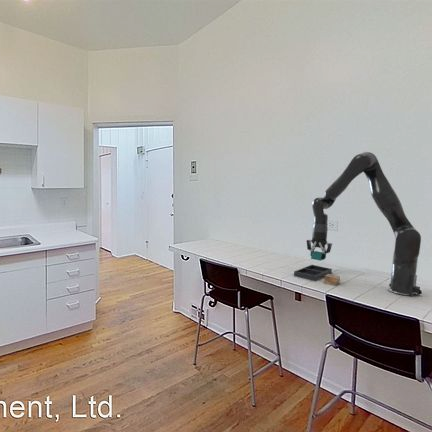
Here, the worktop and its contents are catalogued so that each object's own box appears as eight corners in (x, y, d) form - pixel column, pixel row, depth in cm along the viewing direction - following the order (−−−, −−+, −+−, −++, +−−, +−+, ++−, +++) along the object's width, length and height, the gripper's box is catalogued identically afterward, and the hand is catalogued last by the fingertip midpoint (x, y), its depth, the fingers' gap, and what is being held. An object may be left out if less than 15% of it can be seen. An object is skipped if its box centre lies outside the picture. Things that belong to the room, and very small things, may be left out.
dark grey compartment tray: (331, 273, 182) (331, 268, 181) (314, 280, 168) (314, 276, 168) (311, 268, 191) (311, 264, 191) (293, 275, 178) (294, 271, 177)
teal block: (324, 259, 181) (325, 252, 181) (320, 260, 178) (321, 254, 177) (315, 257, 186) (315, 250, 185) (310, 258, 182) (311, 252, 182)
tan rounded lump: (339, 283, 165) (340, 276, 164) (335, 285, 161) (335, 278, 161) (328, 280, 169) (329, 273, 168) (324, 282, 166) (324, 275, 165)
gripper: (304, 229, 183) (302, 256, 185) (330, 233, 172) (328, 262, 174) (310, 228, 187) (308, 254, 190) (335, 231, 176) (333, 259, 178)
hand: (317, 258), depth 182 cm, fingers closed on teal block, 5 cm apart
